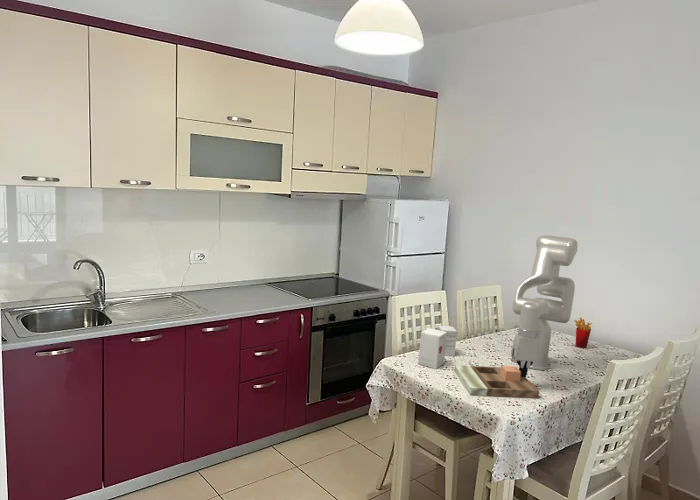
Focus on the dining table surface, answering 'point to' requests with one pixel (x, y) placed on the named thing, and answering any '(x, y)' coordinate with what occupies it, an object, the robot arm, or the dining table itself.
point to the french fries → (582, 333)
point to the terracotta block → (510, 373)
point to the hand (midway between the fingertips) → (522, 376)
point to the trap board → (493, 383)
